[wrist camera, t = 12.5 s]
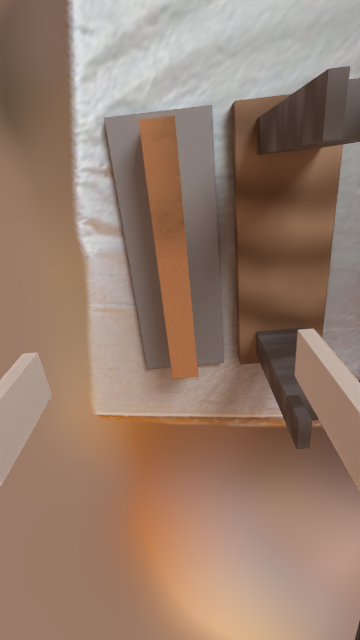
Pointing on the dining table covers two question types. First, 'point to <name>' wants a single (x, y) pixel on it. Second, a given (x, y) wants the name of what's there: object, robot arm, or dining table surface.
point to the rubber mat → (199, 229)
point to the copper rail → (170, 240)
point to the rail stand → (288, 224)
